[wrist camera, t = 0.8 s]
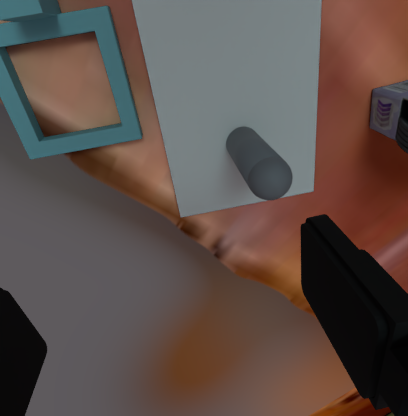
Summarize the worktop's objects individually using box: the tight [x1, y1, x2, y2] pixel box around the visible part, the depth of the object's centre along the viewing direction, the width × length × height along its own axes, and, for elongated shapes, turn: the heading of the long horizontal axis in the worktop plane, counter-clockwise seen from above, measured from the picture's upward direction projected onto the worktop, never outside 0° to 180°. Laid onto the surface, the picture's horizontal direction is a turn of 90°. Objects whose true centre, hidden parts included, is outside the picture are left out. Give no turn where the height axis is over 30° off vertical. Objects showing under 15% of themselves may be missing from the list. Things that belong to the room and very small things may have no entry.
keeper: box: [132, 0, 322, 217], centre depth 26 cm, size 22×16×12 cm
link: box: [0, 0, 143, 159], centre depth 24 cm, size 16×11×5 cm
